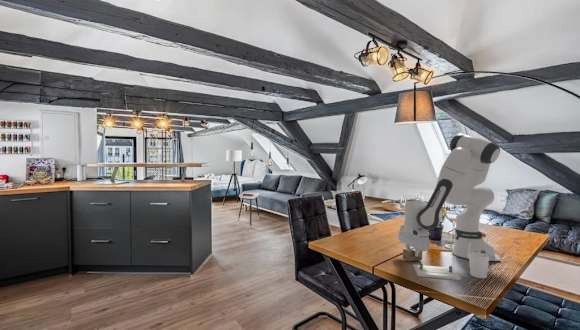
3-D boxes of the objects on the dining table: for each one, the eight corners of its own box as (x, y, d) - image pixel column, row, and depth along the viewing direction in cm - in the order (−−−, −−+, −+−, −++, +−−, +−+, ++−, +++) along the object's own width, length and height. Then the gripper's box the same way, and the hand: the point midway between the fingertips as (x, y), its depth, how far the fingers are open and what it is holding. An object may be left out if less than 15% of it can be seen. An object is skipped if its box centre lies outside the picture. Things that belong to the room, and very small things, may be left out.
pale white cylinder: (480, 272, 141) (481, 251, 141) (492, 279, 133) (493, 257, 133) (464, 272, 141) (465, 251, 140) (475, 279, 133) (476, 257, 133)
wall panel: (452, 270, 143) (452, 262, 143) (460, 280, 131) (460, 271, 131) (413, 266, 147) (413, 259, 147) (418, 276, 136) (418, 268, 135)
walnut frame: (417, 257, 158) (417, 247, 158) (422, 259, 154) (422, 250, 154) (402, 258, 156) (402, 249, 155) (407, 261, 152) (407, 251, 152)
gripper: (395, 224, 163) (395, 248, 164) (421, 234, 144) (420, 261, 144) (405, 223, 165) (404, 247, 166) (431, 233, 145) (431, 260, 146)
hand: (412, 254), depth 155 cm, fingers open, 4 cm apart
